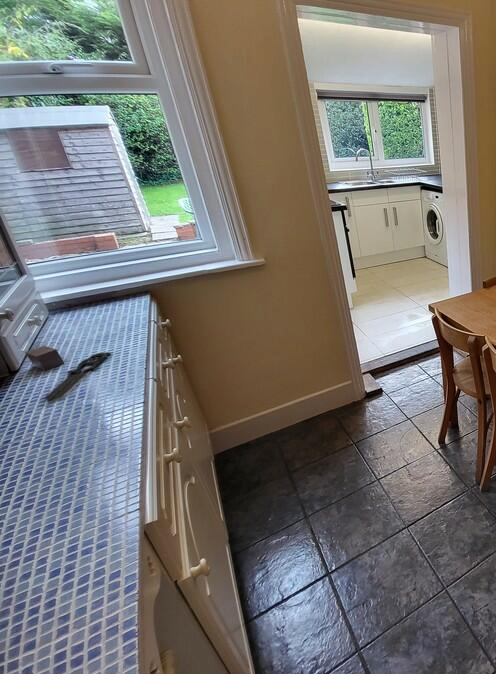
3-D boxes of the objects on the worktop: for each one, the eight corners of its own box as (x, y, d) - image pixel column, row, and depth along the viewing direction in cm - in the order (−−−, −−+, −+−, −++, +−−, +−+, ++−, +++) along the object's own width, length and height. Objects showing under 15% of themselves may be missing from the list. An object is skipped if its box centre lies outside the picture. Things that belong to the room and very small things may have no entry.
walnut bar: (64, 363, 114) (56, 349, 112) (45, 370, 110) (36, 356, 108) (52, 359, 116) (44, 345, 114) (33, 366, 113) (24, 352, 111)
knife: (58, 405, 95) (55, 400, 94) (24, 410, 94) (21, 405, 93) (119, 354, 117) (117, 349, 117) (92, 358, 116) (90, 353, 115)
